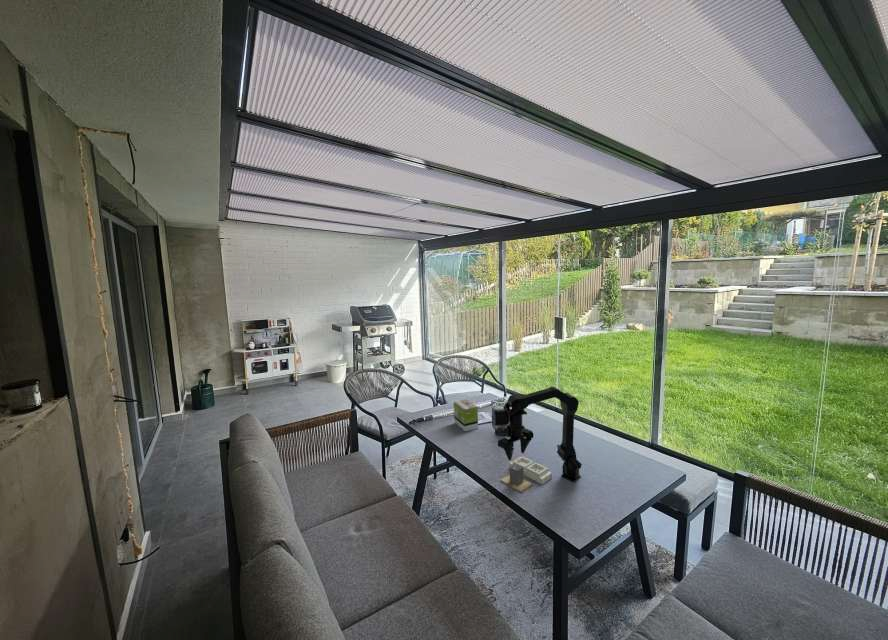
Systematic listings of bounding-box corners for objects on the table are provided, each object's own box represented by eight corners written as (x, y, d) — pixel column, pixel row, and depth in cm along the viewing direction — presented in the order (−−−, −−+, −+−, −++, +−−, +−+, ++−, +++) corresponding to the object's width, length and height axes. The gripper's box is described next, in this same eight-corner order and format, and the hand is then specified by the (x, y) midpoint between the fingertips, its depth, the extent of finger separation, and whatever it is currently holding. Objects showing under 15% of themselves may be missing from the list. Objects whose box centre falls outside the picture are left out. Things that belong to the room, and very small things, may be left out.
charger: (523, 481, 156) (523, 467, 155) (517, 485, 153) (517, 470, 152) (515, 477, 159) (515, 463, 158) (509, 481, 156) (509, 467, 155)
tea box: (453, 423, 224) (453, 401, 222) (467, 420, 228) (466, 398, 226) (464, 432, 210) (464, 409, 208) (478, 428, 214) (478, 406, 212)
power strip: (551, 477, 159) (551, 469, 159) (542, 484, 154) (542, 476, 154) (519, 462, 174) (519, 454, 173) (509, 467, 169) (509, 459, 168)
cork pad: (532, 485, 154) (532, 484, 154) (521, 492, 149) (521, 491, 149) (511, 474, 163) (511, 473, 163) (500, 480, 158) (500, 479, 158)
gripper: (514, 412, 165) (515, 443, 167) (488, 424, 153) (488, 457, 155) (534, 419, 156) (534, 451, 158) (507, 432, 144) (508, 466, 146)
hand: (516, 456), depth 154 cm, fingers open, 9 cm apart
